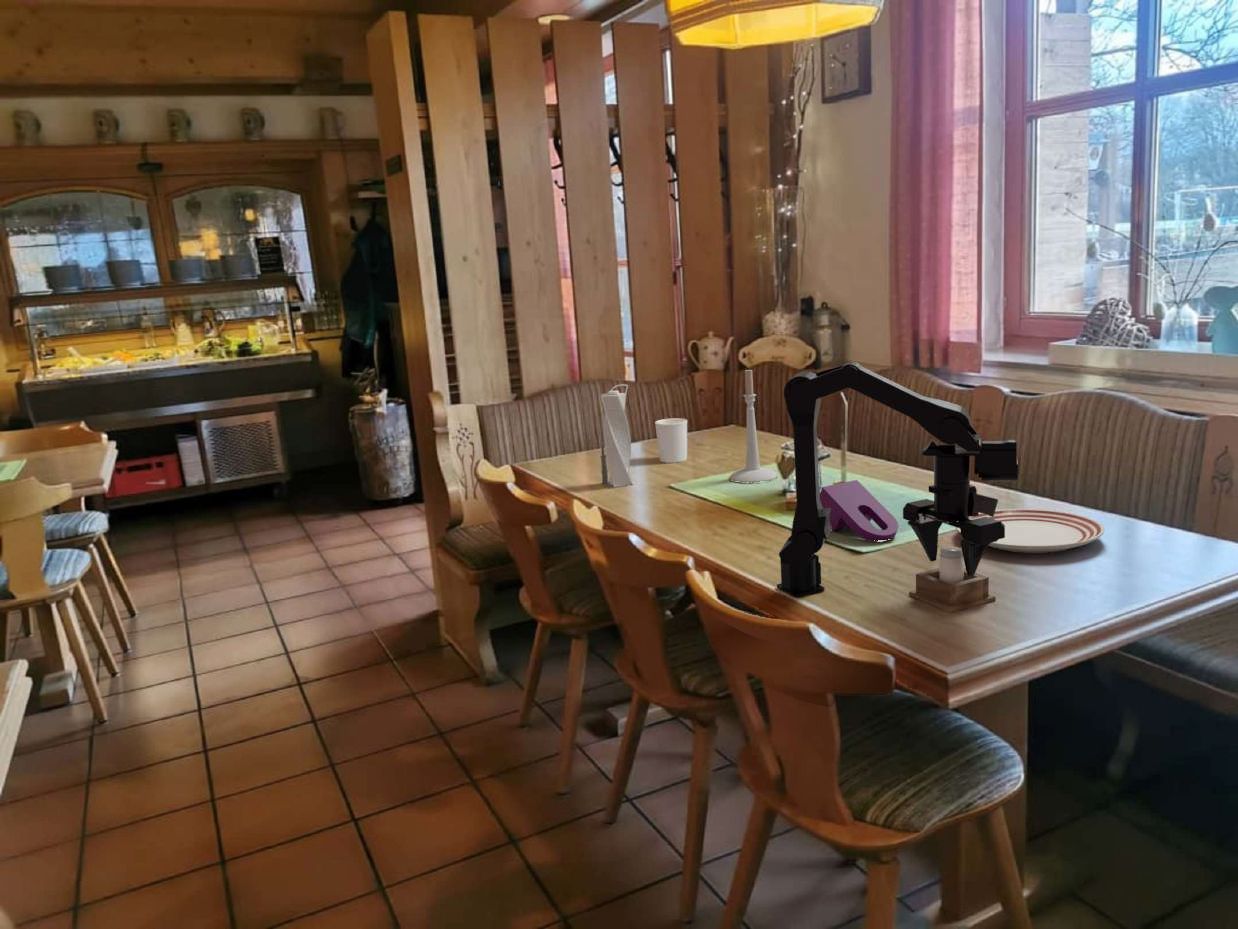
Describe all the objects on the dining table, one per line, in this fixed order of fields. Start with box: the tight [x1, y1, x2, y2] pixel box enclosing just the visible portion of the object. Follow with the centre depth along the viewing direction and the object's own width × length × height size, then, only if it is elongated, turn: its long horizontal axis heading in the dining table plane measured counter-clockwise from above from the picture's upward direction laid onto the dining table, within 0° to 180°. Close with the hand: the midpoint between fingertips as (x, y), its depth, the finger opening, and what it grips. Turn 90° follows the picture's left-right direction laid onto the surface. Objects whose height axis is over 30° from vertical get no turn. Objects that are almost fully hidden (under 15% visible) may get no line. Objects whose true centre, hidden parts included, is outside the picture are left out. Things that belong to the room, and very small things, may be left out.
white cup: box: [654, 417, 688, 464], centre depth 285 cm, size 10×10×12 cm
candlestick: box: [729, 368, 778, 483], centre depth 254 cm, size 13×13×30 cm
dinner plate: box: [955, 508, 1105, 554], centre depth 190 cm, size 28×27×3 cm
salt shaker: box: [938, 546, 965, 584], centre depth 163 cm, size 4×4×8 cm
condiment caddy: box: [908, 567, 997, 613], centre depth 163 cm, size 10×10×4 cm
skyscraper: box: [600, 383, 634, 489], centre depth 258 cm, size 8×8×28 cm
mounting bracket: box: [819, 479, 899, 542], centre depth 204 cm, size 9×8×18 cm
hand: (951, 568), depth 162 cm, fingers open, 9 cm apart
